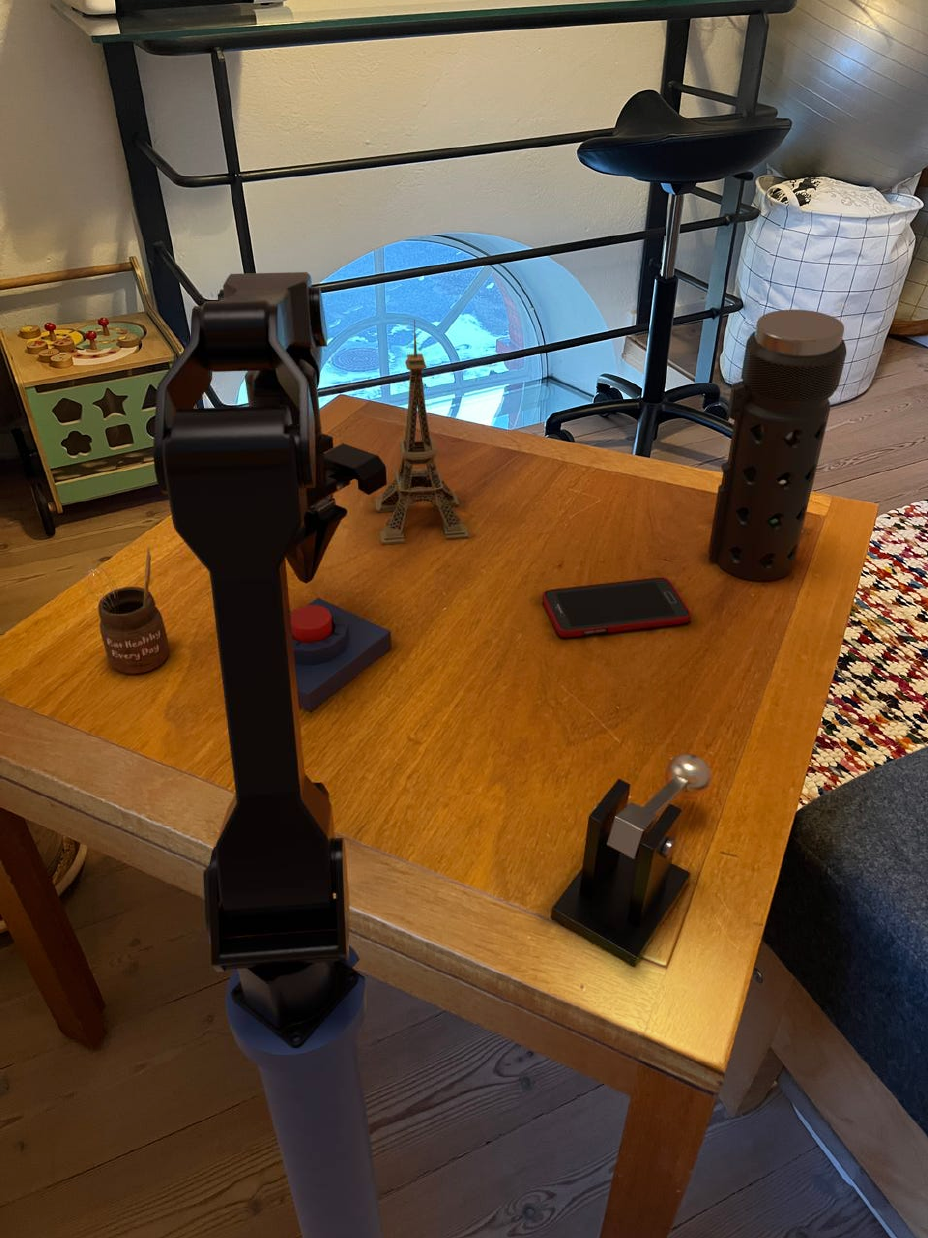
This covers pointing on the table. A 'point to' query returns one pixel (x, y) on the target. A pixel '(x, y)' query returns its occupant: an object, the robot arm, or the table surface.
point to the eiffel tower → (410, 478)
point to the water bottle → (775, 441)
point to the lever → (659, 803)
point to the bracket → (623, 883)
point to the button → (311, 624)
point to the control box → (336, 655)
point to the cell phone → (615, 607)
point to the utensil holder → (132, 627)
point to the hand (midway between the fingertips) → (305, 580)
